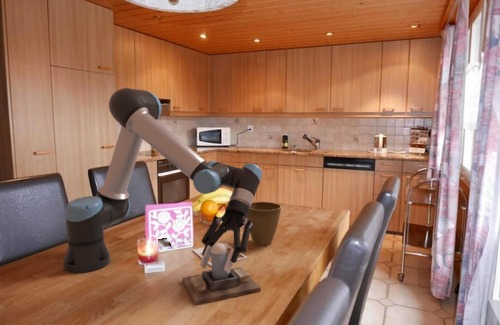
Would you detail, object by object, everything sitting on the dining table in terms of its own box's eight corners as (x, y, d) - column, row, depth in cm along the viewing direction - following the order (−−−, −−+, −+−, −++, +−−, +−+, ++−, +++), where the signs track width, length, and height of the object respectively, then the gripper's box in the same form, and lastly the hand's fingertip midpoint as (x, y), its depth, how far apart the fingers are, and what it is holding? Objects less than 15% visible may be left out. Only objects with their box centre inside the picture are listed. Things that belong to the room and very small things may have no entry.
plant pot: (259, 252, 139) (259, 211, 137) (238, 241, 151) (238, 204, 149) (288, 244, 148) (288, 206, 146) (265, 234, 160) (265, 199, 158)
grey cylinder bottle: (215, 287, 107) (213, 247, 106) (210, 280, 112) (208, 242, 110) (230, 283, 109) (229, 244, 107) (225, 277, 114) (223, 239, 112)
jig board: (195, 304, 99) (195, 292, 99) (182, 281, 114) (182, 270, 113) (260, 291, 107) (260, 279, 107) (240, 270, 122) (240, 260, 121)
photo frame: (225, 242, 148) (247, 256, 132) (225, 245, 148) (247, 259, 132) (192, 249, 140) (211, 265, 125) (192, 251, 140) (211, 268, 125)
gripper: (270, 214, 117) (248, 281, 105) (217, 207, 126) (191, 268, 114) (264, 201, 112) (240, 270, 99) (208, 195, 121) (180, 257, 109)
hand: (214, 269), depth 107 cm, fingers open, 8 cm apart
